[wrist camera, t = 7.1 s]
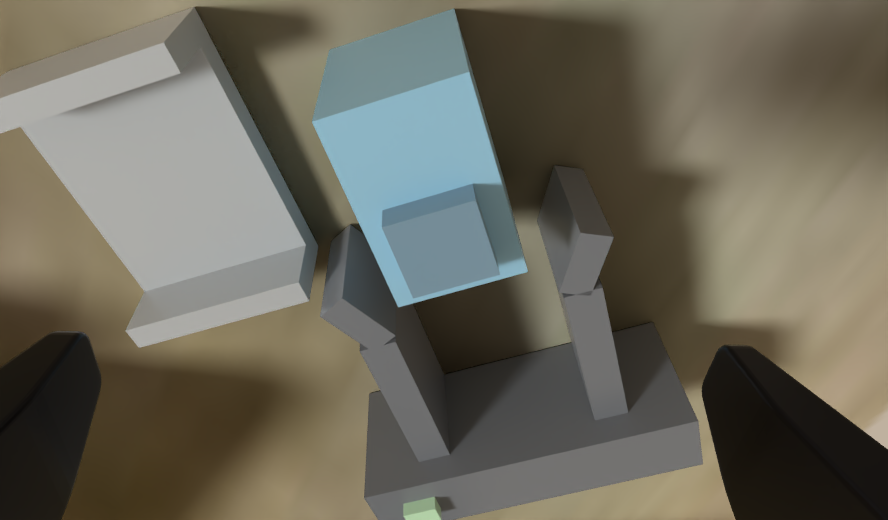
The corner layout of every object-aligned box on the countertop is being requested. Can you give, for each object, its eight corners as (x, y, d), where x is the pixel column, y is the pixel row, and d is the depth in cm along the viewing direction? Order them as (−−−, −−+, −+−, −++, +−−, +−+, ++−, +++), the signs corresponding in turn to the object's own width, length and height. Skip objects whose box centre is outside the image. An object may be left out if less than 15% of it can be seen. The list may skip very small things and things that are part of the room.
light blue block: (504, 182, 22) (532, 289, 18) (398, 213, 23) (398, 326, 18) (453, 8, 19) (472, 85, 14) (329, 49, 19) (308, 137, 15)
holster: (318, 246, 23) (308, 301, 21) (165, 290, 24) (139, 347, 22) (194, 6, 18) (163, 42, 16) (6, 72, 19) (-51, 115, 17)
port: (659, 364, 28) (708, 476, 23) (389, 429, 29) (387, 546, 25) (626, 144, 22) (683, 240, 17) (286, 242, 23) (259, 353, 19)
